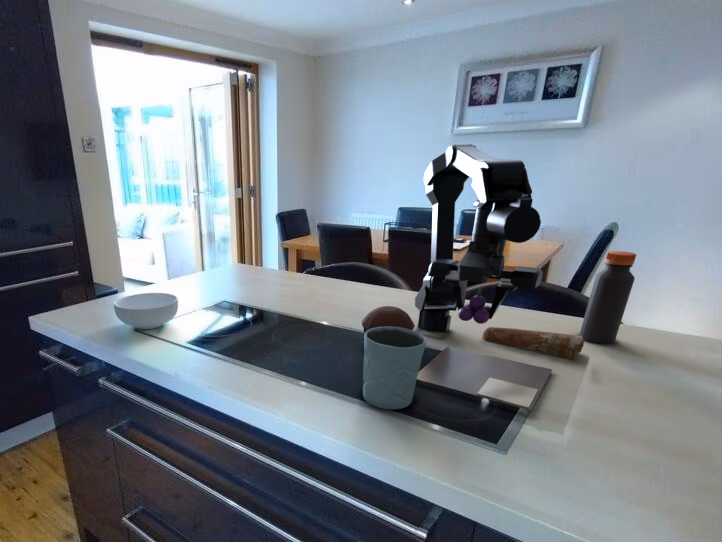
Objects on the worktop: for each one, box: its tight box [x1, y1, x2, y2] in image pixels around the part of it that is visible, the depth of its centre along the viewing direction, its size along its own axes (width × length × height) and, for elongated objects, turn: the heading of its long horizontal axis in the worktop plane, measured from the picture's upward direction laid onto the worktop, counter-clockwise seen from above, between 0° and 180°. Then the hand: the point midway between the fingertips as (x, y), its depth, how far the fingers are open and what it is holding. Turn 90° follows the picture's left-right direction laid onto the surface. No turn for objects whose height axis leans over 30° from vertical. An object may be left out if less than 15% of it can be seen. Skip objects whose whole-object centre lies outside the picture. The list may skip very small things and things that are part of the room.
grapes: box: [457, 288, 491, 325], centre depth 86 cm, size 6×6×6 cm
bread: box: [482, 326, 585, 361], centre depth 96 cm, size 6×19×6 cm, turn 46°
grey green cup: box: [362, 327, 427, 410], centre depth 77 cm, size 10×10×12 cm
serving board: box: [417, 346, 553, 411], centre depth 85 cm, size 20×20×1 cm
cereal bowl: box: [113, 292, 179, 330], centre depth 119 cm, size 17×17×7 cm
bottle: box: [579, 250, 637, 345], centre depth 99 cm, size 7×7×20 cm
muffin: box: [361, 305, 416, 335], centre depth 98 cm, size 12×11×10 cm
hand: (475, 316), depth 86 cm, fingers closed on grapes, 5 cm apart
